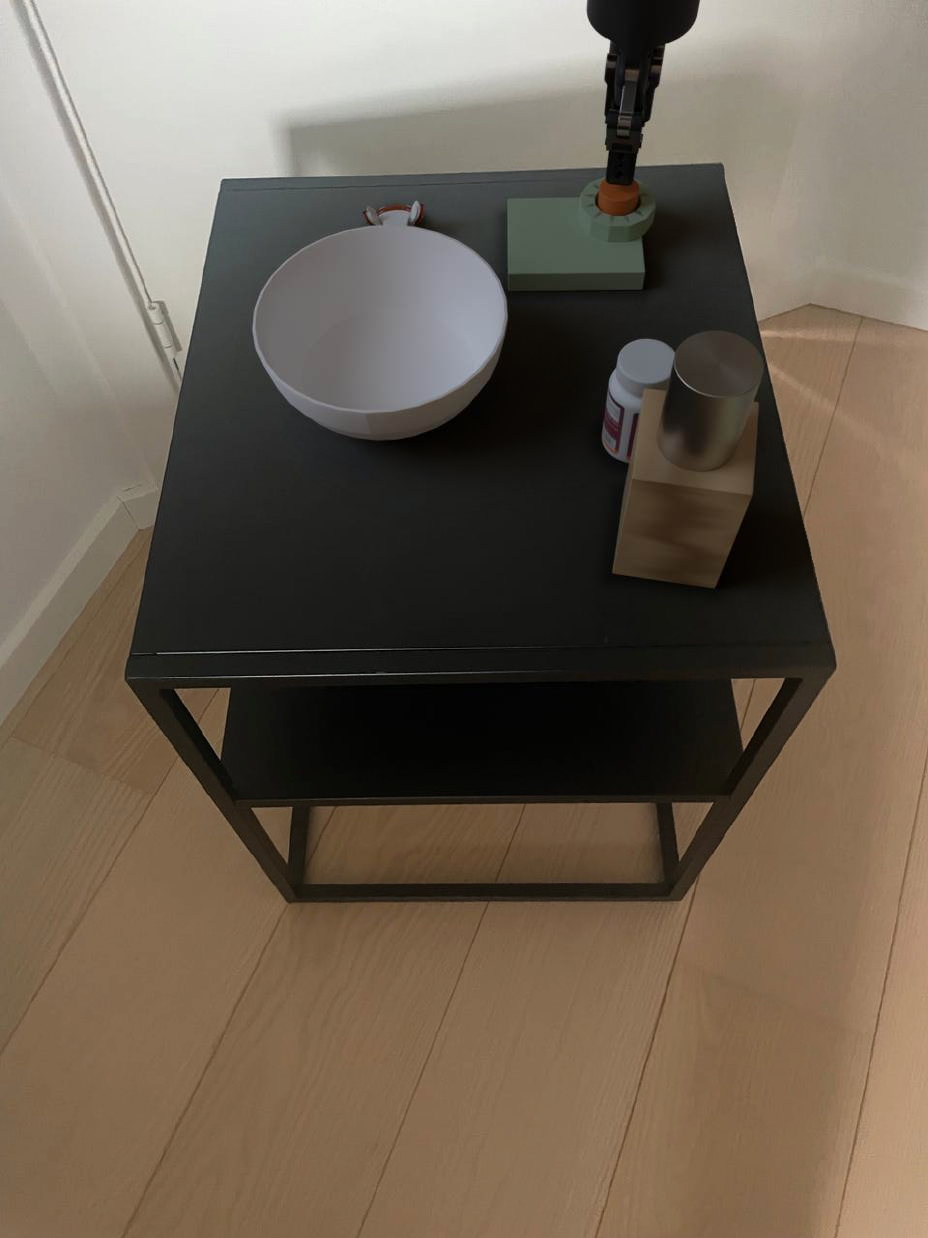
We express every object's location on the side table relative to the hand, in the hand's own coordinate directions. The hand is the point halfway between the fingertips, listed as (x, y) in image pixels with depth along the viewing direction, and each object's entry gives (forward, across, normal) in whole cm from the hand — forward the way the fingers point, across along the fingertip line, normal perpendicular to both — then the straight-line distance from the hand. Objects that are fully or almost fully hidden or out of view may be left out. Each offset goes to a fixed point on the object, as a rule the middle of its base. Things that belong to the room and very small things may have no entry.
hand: (619, 178), depth 77 cm
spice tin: (-6, -30, -7) cm, 31 cm away
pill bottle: (+6, -22, -4) cm, 23 cm away
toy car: (+6, -4, +18) cm, 19 cm away
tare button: (+2, 0, 0) cm, 2 cm away
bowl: (+6, -19, +15) cm, 25 cm away
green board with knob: (+6, -3, +3) cm, 7 cm away
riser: (+5, -30, -8) cm, 31 cm away
